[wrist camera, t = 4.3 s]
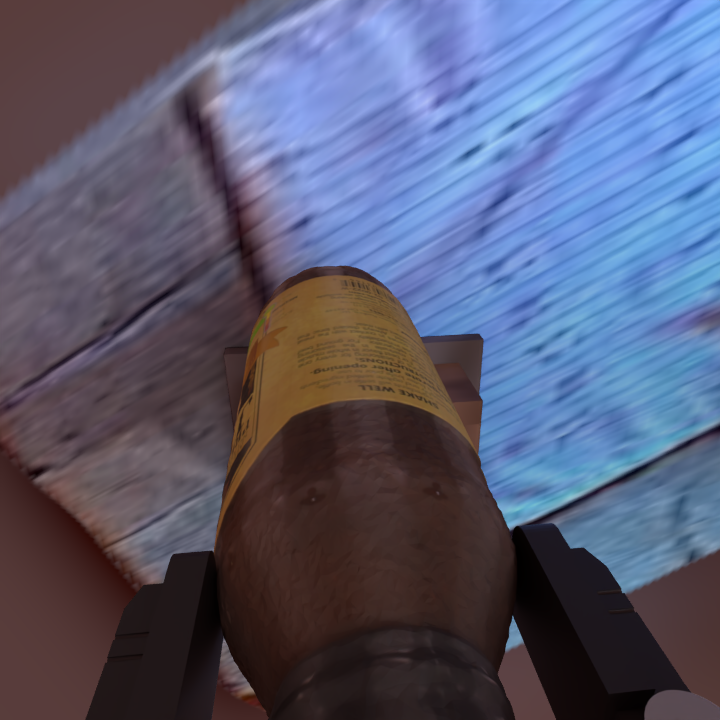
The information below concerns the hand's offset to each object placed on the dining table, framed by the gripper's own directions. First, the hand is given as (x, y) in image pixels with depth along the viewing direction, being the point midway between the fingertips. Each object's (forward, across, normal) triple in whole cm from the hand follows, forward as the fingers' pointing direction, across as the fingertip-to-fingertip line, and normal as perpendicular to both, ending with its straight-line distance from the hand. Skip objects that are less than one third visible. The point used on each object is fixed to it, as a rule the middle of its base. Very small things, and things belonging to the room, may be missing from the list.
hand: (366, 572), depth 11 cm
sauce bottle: (+13, 0, 0) cm, 13 cm away
